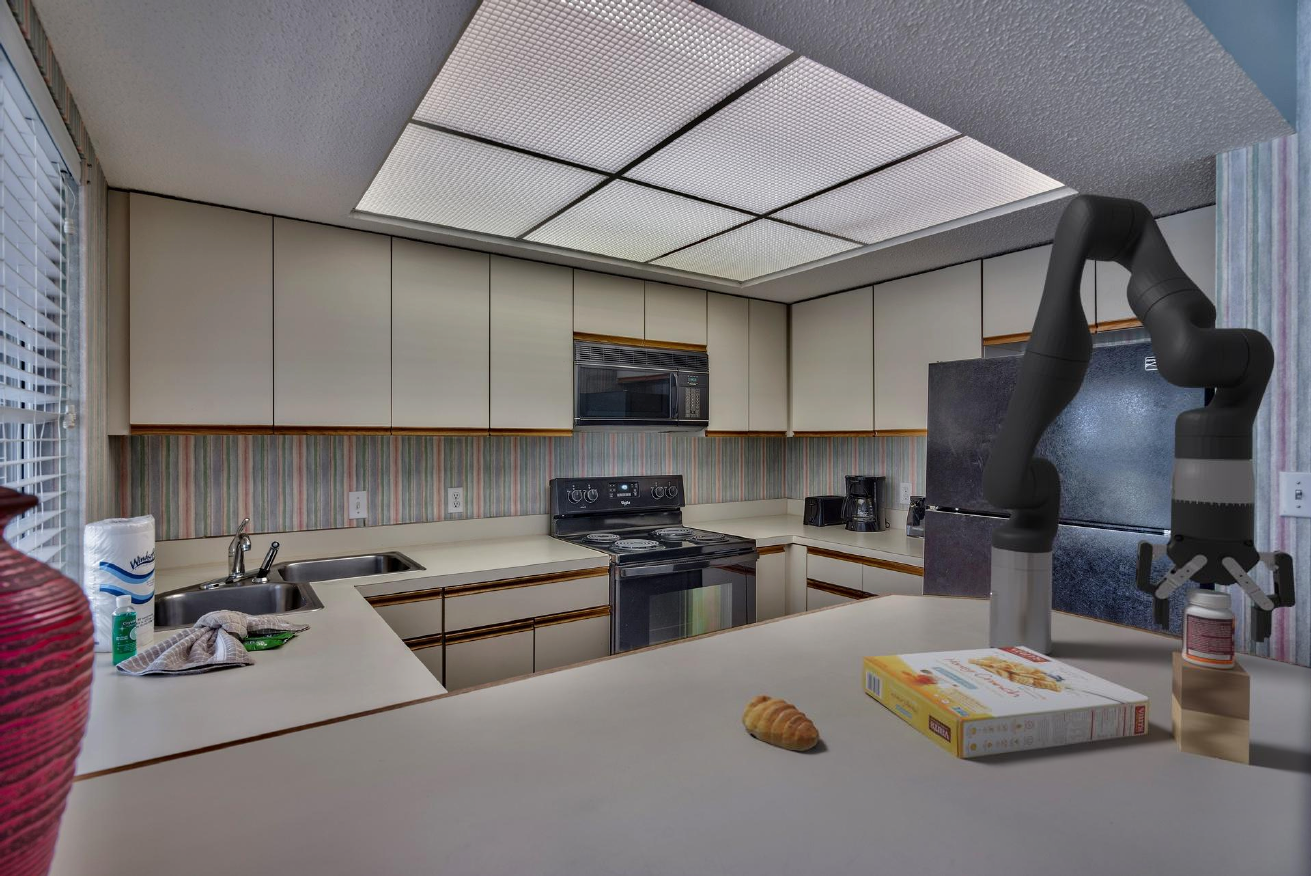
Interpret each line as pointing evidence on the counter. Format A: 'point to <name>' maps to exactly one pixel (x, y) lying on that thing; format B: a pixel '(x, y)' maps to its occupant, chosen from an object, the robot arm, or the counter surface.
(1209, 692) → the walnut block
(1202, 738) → the maple block
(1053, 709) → the cereal box
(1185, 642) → the pill bottle
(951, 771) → the counter surface
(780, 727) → the pastry
